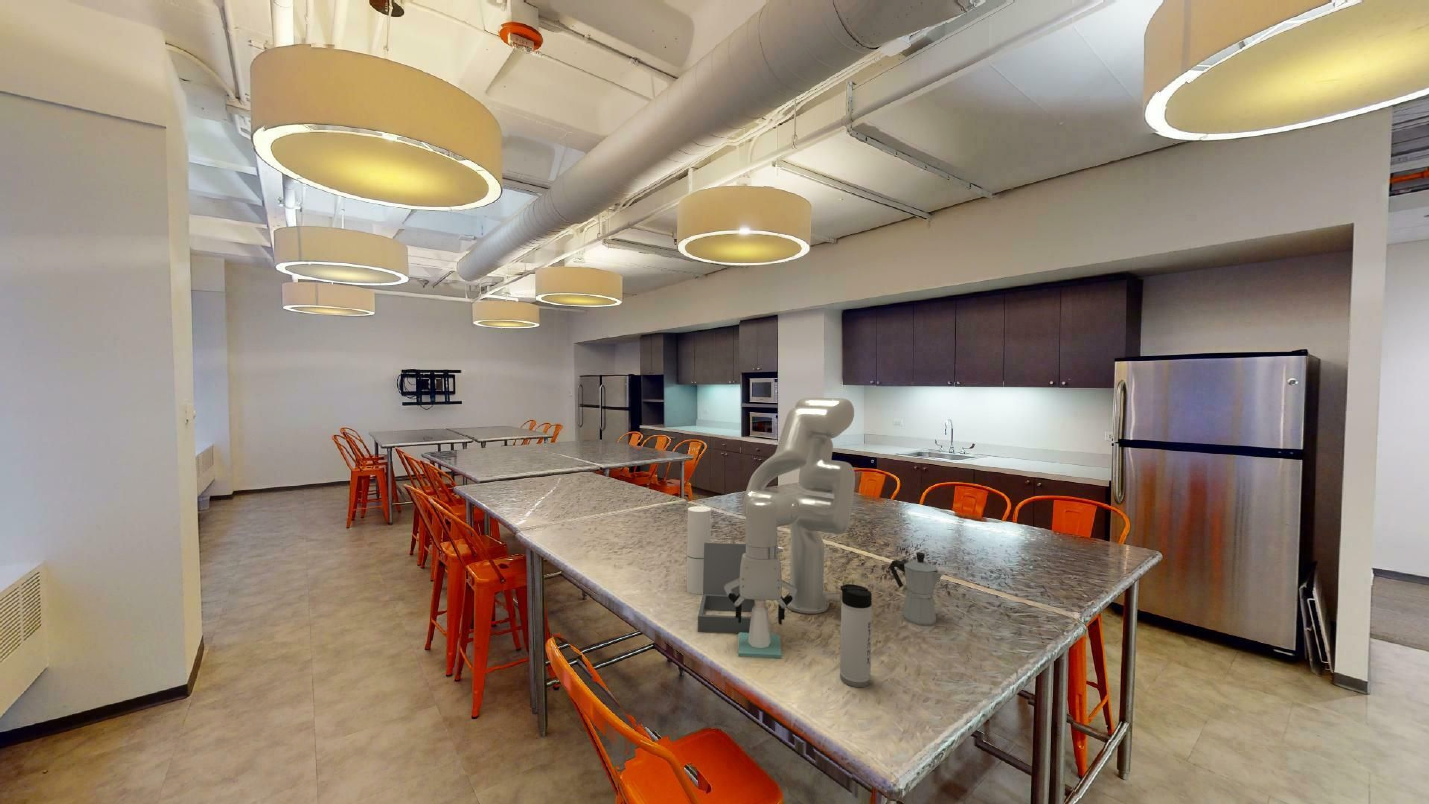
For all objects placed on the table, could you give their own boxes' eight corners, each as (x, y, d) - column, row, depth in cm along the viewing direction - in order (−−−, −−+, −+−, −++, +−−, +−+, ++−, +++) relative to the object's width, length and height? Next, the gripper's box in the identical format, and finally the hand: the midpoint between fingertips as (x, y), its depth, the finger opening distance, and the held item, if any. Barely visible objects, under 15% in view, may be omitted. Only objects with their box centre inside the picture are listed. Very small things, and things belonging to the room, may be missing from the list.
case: (763, 610, 142) (763, 596, 142) (764, 634, 128) (765, 619, 128) (702, 608, 143) (702, 594, 143) (697, 631, 129) (697, 616, 129)
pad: (779, 637, 127) (779, 634, 127) (781, 658, 117) (781, 655, 117) (738, 635, 127) (739, 632, 127) (738, 656, 117) (738, 653, 117)
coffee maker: (948, 620, 137) (950, 554, 137) (937, 631, 131) (938, 562, 130) (895, 604, 147) (896, 542, 147) (881, 613, 141) (883, 549, 140)
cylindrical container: (711, 585, 159) (712, 506, 159) (708, 594, 152) (709, 512, 152) (688, 584, 160) (689, 505, 159) (685, 593, 153) (686, 511, 152)
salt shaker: (743, 642, 122) (744, 597, 122) (757, 635, 126) (758, 591, 126) (760, 651, 118) (761, 604, 118) (775, 643, 122) (775, 597, 122)
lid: (763, 596, 142) (763, 595, 143) (763, 544, 144) (763, 544, 145) (702, 594, 143) (703, 592, 144) (704, 542, 145) (704, 542, 146)
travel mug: (834, 671, 111) (836, 581, 111) (863, 670, 112) (865, 581, 112) (844, 688, 105) (846, 593, 105) (875, 687, 106) (877, 592, 105)
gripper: (795, 547, 125) (794, 616, 125) (725, 544, 126) (724, 613, 126) (798, 557, 117) (797, 630, 117) (724, 554, 118) (723, 627, 119)
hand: (759, 621), depth 122 cm, fingers open, 9 cm apart
